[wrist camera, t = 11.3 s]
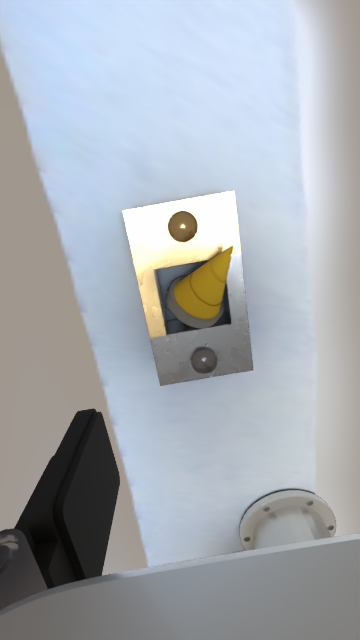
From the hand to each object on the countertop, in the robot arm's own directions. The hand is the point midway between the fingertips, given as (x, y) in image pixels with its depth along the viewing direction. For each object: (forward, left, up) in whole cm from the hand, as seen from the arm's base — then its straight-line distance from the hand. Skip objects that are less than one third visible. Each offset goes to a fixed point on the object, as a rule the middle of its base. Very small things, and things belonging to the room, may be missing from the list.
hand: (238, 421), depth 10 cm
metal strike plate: (0, 0, -21) cm, 21 cm away
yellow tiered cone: (0, -1, -21) cm, 21 cm away
